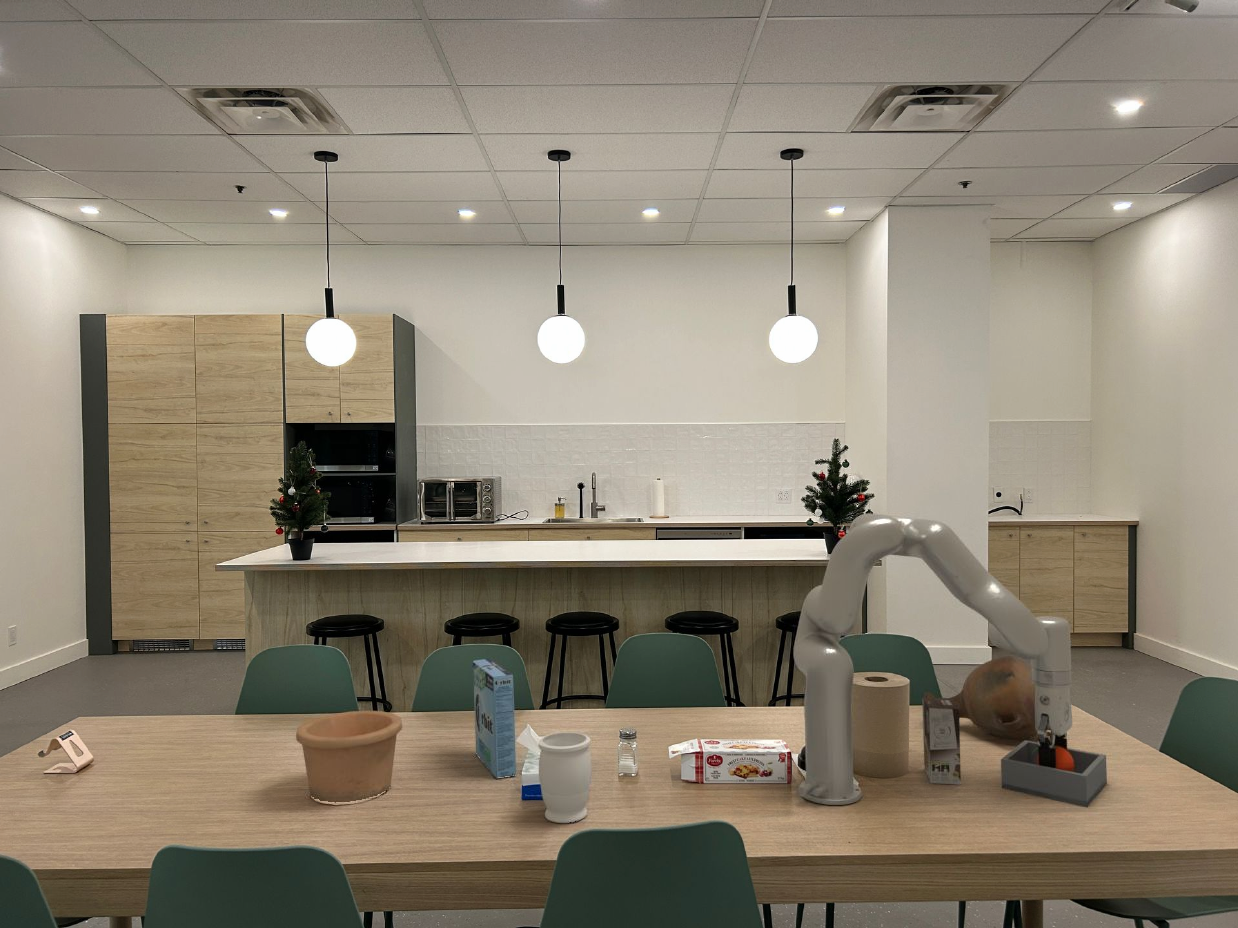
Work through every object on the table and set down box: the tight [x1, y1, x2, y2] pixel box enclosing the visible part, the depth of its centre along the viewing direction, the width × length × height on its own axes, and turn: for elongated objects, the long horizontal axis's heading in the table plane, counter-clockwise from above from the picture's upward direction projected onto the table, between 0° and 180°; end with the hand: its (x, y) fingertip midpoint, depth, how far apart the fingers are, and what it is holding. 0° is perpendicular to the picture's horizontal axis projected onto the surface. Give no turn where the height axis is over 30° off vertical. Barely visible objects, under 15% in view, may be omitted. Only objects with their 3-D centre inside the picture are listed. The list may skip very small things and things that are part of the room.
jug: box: [923, 656, 1038, 740], centre depth 213 cm, size 20×20×30 cm
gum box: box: [472, 658, 517, 779], centre depth 198 cm, size 20×5×23 cm, turn 23°
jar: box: [537, 731, 593, 824], centre depth 168 cm, size 11×10×15 cm
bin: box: [1000, 739, 1108, 808], centre depth 177 cm, size 16×16×6 cm
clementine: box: [1032, 745, 1074, 772], centre depth 177 cm, size 8×7×7 cm
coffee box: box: [921, 697, 962, 786], centre depth 184 cm, size 9×6×16 cm
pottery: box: [295, 710, 403, 803], centre depth 184 cm, size 22×22×14 cm
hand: (1053, 760), depth 177 cm, fingers open, 7 cm apart
